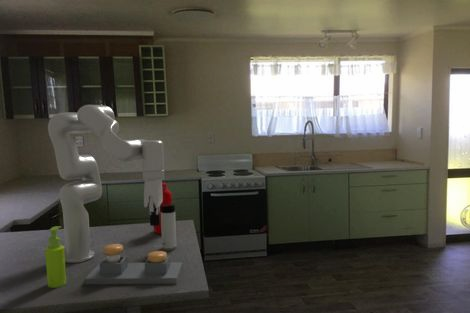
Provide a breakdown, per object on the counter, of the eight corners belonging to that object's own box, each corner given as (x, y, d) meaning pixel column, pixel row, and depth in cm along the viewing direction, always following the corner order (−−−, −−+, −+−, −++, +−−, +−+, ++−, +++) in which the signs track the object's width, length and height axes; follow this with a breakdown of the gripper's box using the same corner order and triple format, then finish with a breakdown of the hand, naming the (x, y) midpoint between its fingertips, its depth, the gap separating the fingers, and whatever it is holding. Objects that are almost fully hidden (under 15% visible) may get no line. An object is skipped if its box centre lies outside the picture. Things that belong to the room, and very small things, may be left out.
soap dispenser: (70, 278, 132) (67, 224, 130) (61, 287, 125) (58, 230, 123) (53, 279, 132) (50, 225, 130) (44, 288, 125) (40, 231, 123)
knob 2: (146, 273, 131) (145, 257, 130) (150, 266, 137) (150, 251, 137) (165, 273, 131) (164, 257, 130) (168, 265, 137) (168, 250, 137)
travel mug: (162, 251, 158) (161, 206, 156) (161, 246, 164) (160, 203, 162) (177, 250, 160) (175, 205, 158) (175, 245, 166) (174, 202, 164)
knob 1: (101, 266, 130) (100, 250, 130) (107, 258, 137) (107, 244, 137) (120, 266, 130) (119, 250, 130) (125, 258, 137) (125, 243, 137)
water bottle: (149, 230, 188) (147, 182, 185) (170, 228, 192) (168, 181, 190) (153, 236, 179) (151, 185, 177) (175, 232, 184) (173, 183, 182)
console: (84, 284, 127) (84, 267, 127) (99, 268, 141) (99, 253, 141) (176, 283, 127) (176, 266, 127) (182, 267, 141) (182, 252, 140)
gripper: (148, 171, 138) (149, 219, 140) (137, 178, 123) (139, 231, 125) (167, 171, 138) (169, 219, 140) (159, 178, 123) (161, 231, 125)
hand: (155, 224), depth 132 cm, fingers closed
